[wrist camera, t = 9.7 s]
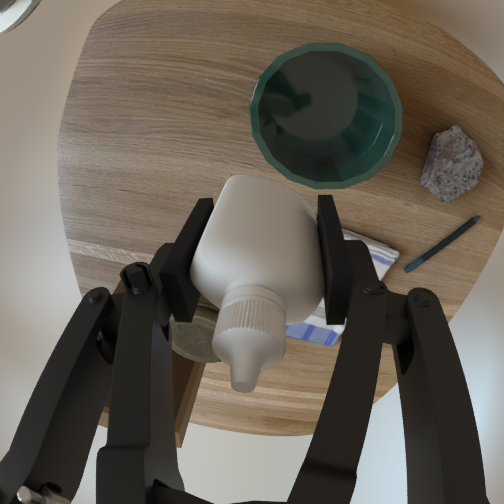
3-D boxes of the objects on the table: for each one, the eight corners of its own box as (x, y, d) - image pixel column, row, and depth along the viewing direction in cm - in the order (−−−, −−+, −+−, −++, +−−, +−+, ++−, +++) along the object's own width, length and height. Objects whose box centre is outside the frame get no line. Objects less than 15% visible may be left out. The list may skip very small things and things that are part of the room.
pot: (252, 51, 30) (242, 46, 23) (375, 50, 28) (401, 48, 21) (263, 163, 38) (257, 191, 31) (375, 161, 36) (397, 189, 29)
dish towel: (400, 246, 43) (405, 257, 41) (332, 340, 57) (333, 352, 54) (296, 207, 41) (297, 217, 39) (246, 318, 55) (244, 329, 53)
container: (266, 237, 45) (254, 335, 30) (240, 278, 50) (221, 373, 35) (209, 211, 43) (169, 300, 28) (189, 256, 48) (151, 346, 33)
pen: (479, 216, 38) (482, 219, 37) (405, 271, 45) (407, 275, 44) (477, 211, 38) (480, 215, 37) (402, 267, 45) (404, 271, 44)
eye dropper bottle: (266, 253, 20) (245, 429, 11) (210, 190, 18) (129, 356, 8) (323, 220, 19) (349, 403, 9) (268, 147, 16) (237, 304, 7)
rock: (413, 189, 37) (424, 202, 34) (433, 115, 31) (448, 122, 28) (461, 201, 37) (473, 214, 34) (482, 135, 31) (498, 144, 28)
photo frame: (211, 343, 60) (185, 457, 40) (115, 324, 61) (70, 421, 41) (210, 290, 52) (172, 426, 31) (99, 272, 53) (33, 379, 32)
